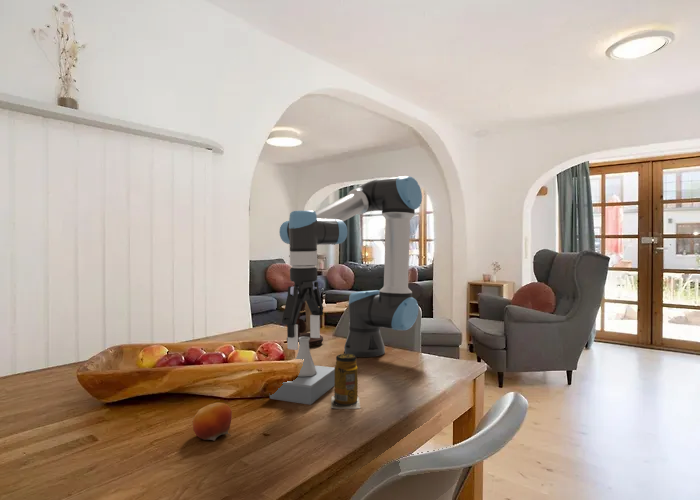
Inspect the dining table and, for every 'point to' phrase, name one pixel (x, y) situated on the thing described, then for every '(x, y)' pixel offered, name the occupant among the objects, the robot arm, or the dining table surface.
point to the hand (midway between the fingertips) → (304, 343)
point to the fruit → (212, 421)
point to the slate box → (307, 387)
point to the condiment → (345, 383)
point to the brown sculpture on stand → (306, 325)
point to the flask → (305, 358)
